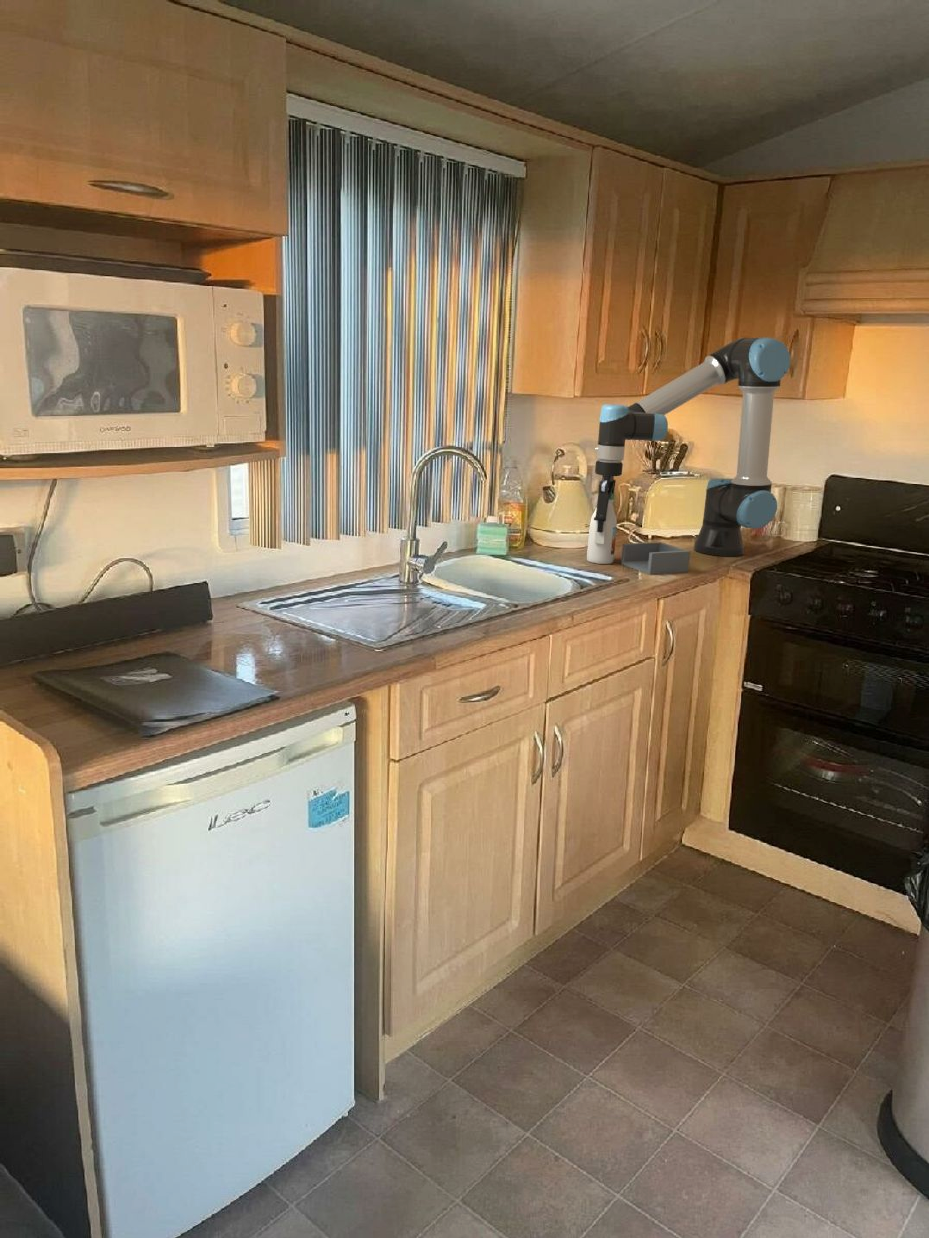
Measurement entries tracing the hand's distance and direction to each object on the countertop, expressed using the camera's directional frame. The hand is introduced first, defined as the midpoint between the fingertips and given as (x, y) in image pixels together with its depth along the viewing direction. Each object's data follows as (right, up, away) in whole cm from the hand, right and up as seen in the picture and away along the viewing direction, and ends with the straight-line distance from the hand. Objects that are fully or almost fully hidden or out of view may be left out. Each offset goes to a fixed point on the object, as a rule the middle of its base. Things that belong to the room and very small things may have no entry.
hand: (601, 540), depth 277 cm
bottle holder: (+14, -8, -3) cm, 17 cm away
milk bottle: (0, -6, +2) cm, 6 cm away
